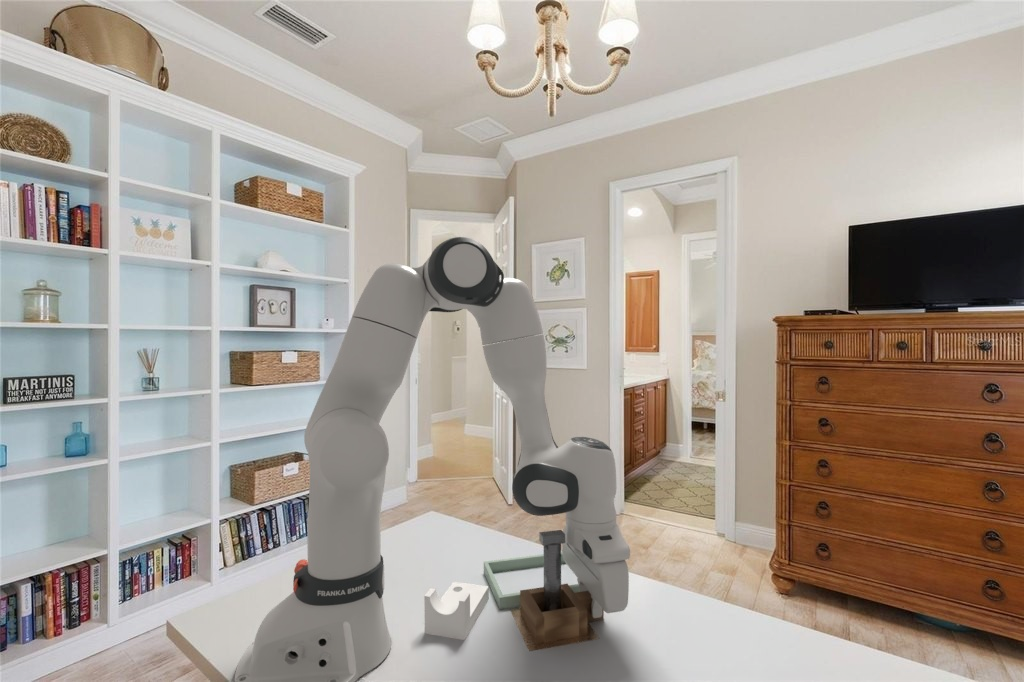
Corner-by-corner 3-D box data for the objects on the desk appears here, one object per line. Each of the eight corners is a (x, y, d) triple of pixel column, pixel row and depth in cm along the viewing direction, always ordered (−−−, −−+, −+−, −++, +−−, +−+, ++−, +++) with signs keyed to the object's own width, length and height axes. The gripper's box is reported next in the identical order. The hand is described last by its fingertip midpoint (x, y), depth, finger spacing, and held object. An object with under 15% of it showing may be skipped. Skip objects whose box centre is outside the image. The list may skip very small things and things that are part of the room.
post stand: (529, 657, 75) (528, 552, 75) (510, 614, 87) (509, 523, 87) (599, 644, 78) (599, 543, 78) (572, 605, 90) (571, 517, 90)
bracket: (464, 647, 78) (464, 601, 78) (424, 641, 80) (424, 595, 80) (488, 604, 91) (488, 565, 91) (453, 600, 93) (453, 560, 93)
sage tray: (499, 614, 87) (499, 597, 87) (483, 575, 101) (483, 561, 101) (599, 598, 92) (599, 583, 92) (570, 564, 106) (570, 550, 106)
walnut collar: (535, 643, 77) (535, 618, 77) (520, 612, 86) (520, 590, 86) (612, 630, 81) (612, 606, 81) (590, 601, 89) (590, 580, 89)
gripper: (553, 512, 94) (554, 582, 94) (598, 558, 74) (599, 648, 74) (584, 509, 95) (584, 578, 95) (635, 553, 75) (636, 641, 76)
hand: (591, 609), depth 84 cm, fingers closed on walnut collar, 2 cm apart
